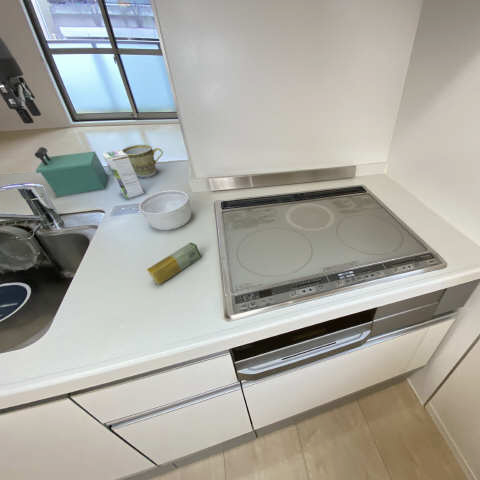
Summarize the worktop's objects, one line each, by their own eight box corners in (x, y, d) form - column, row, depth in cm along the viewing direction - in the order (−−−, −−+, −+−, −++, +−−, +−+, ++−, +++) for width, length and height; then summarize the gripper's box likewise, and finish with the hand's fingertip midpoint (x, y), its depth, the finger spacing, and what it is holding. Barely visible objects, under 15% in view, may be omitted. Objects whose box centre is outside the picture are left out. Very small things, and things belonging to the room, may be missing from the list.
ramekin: (145, 237, 74) (135, 217, 69) (150, 212, 83) (141, 193, 79) (195, 228, 78) (188, 208, 73) (194, 205, 87) (188, 187, 83)
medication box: (195, 253, 70) (190, 241, 67) (202, 256, 68) (197, 244, 66) (152, 281, 61) (145, 269, 59) (159, 285, 60) (152, 272, 58)
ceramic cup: (131, 181, 99) (119, 155, 92) (133, 170, 105) (122, 146, 99) (169, 175, 103) (160, 151, 97) (169, 165, 110) (160, 142, 103)
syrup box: (121, 193, 92) (100, 153, 82) (139, 187, 95) (120, 148, 86) (127, 199, 89) (106, 158, 80) (145, 193, 92) (127, 153, 83)
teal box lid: (37, 173, 83) (25, 157, 79) (46, 159, 90) (36, 144, 87) (91, 165, 88) (83, 150, 85) (95, 153, 96) (88, 139, 92)
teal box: (57, 196, 89) (40, 172, 83) (64, 182, 96) (49, 159, 91) (104, 188, 94) (91, 165, 88) (107, 175, 102) (95, 153, 96)
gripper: (-15, 53, 74) (24, 114, 84) (-38, 58, 64) (9, 127, 74) (20, 53, 76) (54, 112, 87) (3, 58, 67) (43, 124, 77)
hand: (33, 119), depth 81 cm, fingers open, 8 cm apart
